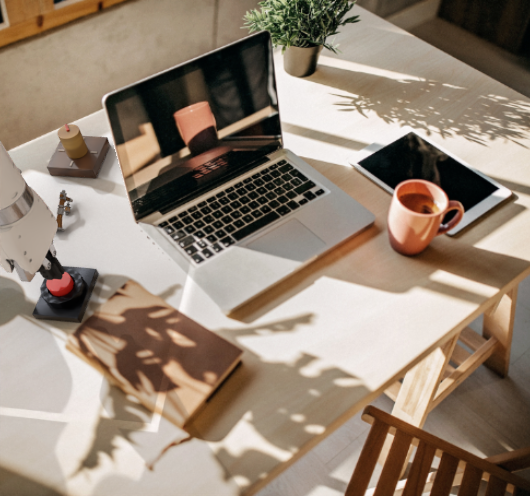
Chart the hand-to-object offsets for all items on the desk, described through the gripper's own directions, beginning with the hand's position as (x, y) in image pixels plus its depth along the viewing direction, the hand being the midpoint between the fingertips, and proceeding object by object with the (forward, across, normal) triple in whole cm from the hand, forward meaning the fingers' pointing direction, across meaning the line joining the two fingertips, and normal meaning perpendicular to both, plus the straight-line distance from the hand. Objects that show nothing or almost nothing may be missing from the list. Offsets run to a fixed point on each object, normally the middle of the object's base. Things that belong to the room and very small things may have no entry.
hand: (54, 274), depth 81 cm
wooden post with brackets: (+7, -17, -7) cm, 20 cm away
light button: (+4, 0, 0) cm, 4 cm away
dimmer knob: (+4, -33, -9) cm, 35 cm away
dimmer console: (+7, -33, -9) cm, 35 cm away
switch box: (+7, 0, 0) cm, 7 cm away
